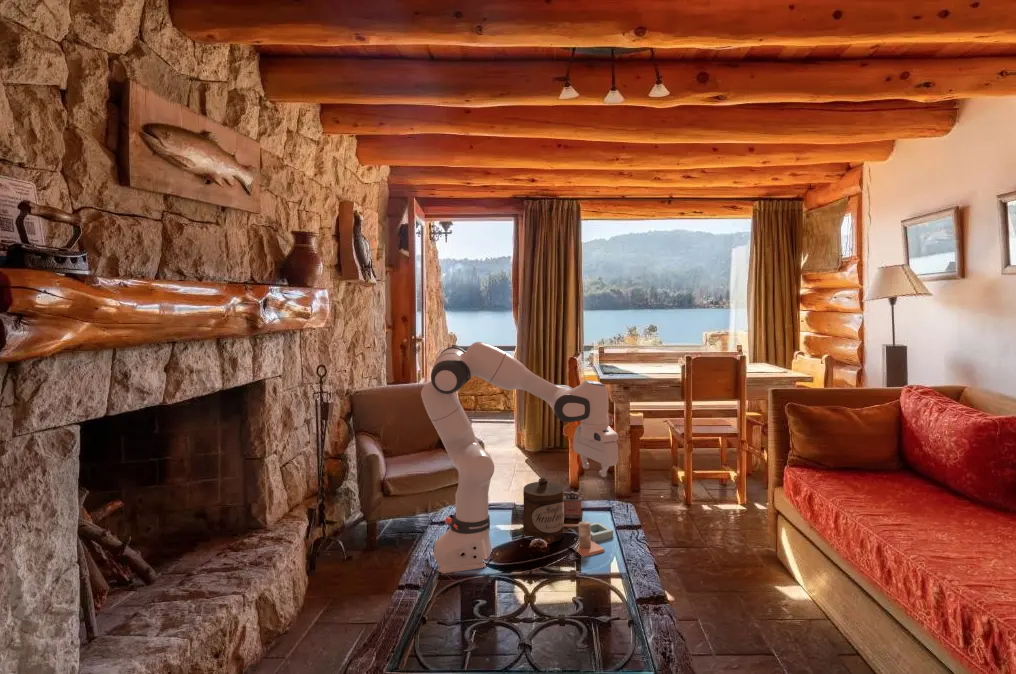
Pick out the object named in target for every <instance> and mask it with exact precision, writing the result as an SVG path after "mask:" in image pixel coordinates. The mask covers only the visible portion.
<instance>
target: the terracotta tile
mask: <svg viewBox="0 0 1016 674" xmlns="http://www.w3.org/2000/svg"><path fill="white" fill-rule="evenodd" d="M577 552H578V553H579V554H580V555H581V556H580V555H579V554H578V555H579V556H580V557H581V558H584V557H585V556H586V557H590V556H593V555H597V554H600V553H604V552H605V548H603V547H602V546H601V545H600V544H597V543H596V542H593V541H591V547H590V548H581V547H580V546H578V549H577ZM586 557H585V558H586Z"/></svg>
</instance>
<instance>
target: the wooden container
mask: <svg viewBox="0 0 1016 674" xmlns="http://www.w3.org/2000/svg"><path fill="white" fill-rule="evenodd" d="M522 491H523V492H522V493H523V506H522V507H523V511H522V512H523V513H522V526H523V528H522V536H523V535H525V536H534V537H546V536H551V535H558V534H561V533H564V534H565V531H564V529H565V528H564V525H565V524H564V521H565V518H564V503H563V497H564V496H563V492H564V487H563V486H562V485H561V484H559V483H556V482H551V481H549V480H548V478H547V477H545V476H543V477H540V478H538V481H533V482H530V483H527V484H526V485H524V487H523V490H522Z"/></svg>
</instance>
